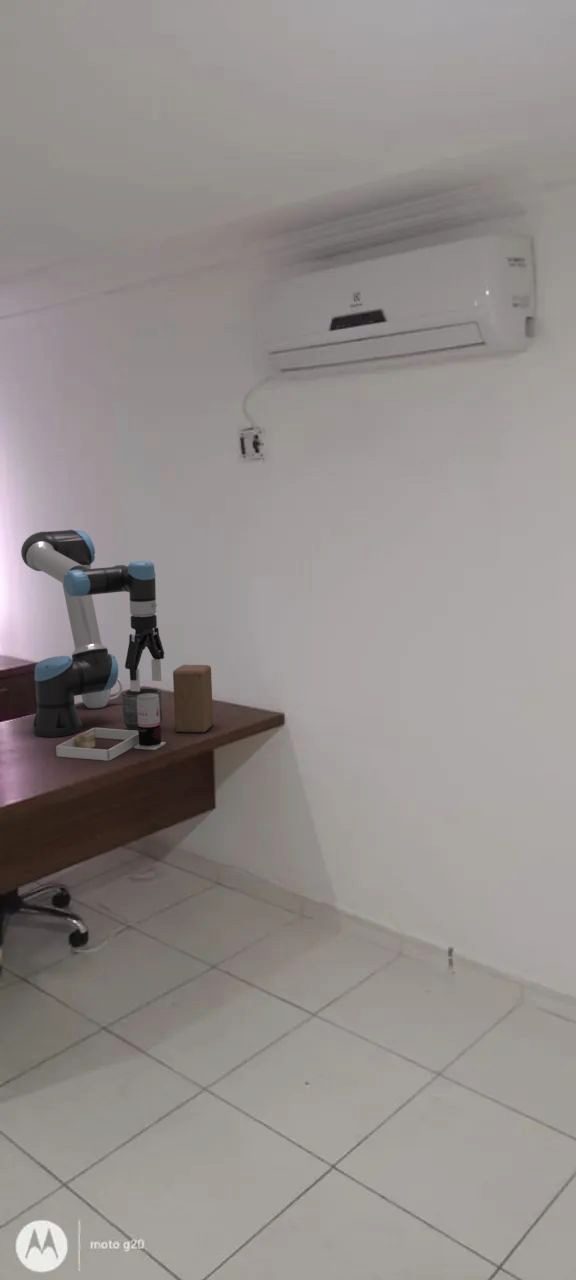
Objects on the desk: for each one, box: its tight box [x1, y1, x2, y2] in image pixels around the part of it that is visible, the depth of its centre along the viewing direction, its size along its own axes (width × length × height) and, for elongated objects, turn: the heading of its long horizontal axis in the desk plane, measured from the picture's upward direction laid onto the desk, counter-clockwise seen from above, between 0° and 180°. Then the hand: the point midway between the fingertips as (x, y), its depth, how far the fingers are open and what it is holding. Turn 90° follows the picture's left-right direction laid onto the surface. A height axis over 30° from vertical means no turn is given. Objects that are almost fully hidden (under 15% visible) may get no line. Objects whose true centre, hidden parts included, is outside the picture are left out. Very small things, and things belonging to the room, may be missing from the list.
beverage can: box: [137, 693, 162, 747], centre depth 275 cm, size 6×6×15 cm
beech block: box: [75, 731, 96, 749], centre depth 276 cm, size 4×4×4 cm
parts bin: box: [55, 727, 139, 761], centre depth 275 cm, size 17×21×3 cm
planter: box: [121, 687, 163, 731], centre depth 293 cm, size 12×12×13 cm
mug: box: [80, 677, 123, 709], centre depth 327 cm, size 15×11×13 cm
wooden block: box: [172, 664, 214, 734], centre depth 293 cm, size 10×10×20 cm
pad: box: [133, 741, 167, 751], centre depth 276 cm, size 7×7×1 cm
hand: (146, 685), depth 274 cm, fingers open, 13 cm apart
